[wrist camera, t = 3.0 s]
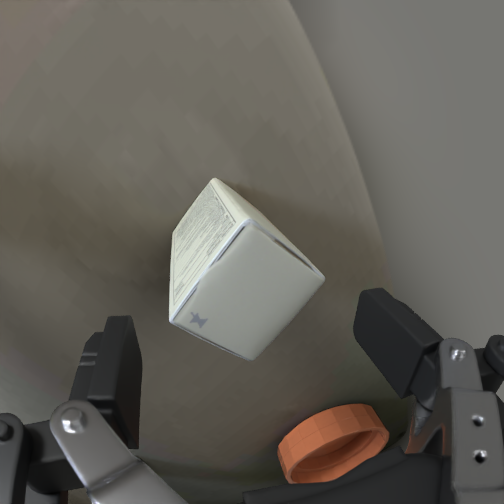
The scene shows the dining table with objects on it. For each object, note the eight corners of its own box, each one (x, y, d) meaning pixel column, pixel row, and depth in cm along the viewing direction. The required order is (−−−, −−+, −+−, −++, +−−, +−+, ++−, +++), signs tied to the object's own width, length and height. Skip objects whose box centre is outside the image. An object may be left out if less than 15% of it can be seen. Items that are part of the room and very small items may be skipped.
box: (218, 264, 23) (248, 369, 13) (169, 232, 21) (161, 327, 11) (263, 208, 22) (331, 280, 12) (215, 171, 20) (248, 216, 10)
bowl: (384, 387, 34) (403, 413, 30) (358, 444, 40) (371, 466, 35) (280, 414, 31) (292, 448, 27) (273, 467, 37) (281, 493, 32)
